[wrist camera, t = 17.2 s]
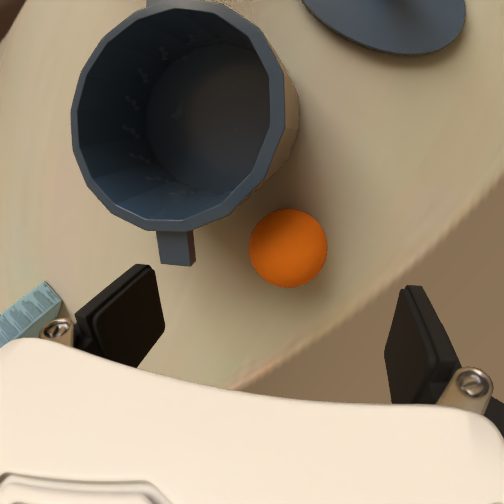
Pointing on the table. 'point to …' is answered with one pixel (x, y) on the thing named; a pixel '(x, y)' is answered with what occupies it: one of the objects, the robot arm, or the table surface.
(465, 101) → the table surface
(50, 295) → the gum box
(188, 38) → the pot
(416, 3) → the lid
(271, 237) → the ball
